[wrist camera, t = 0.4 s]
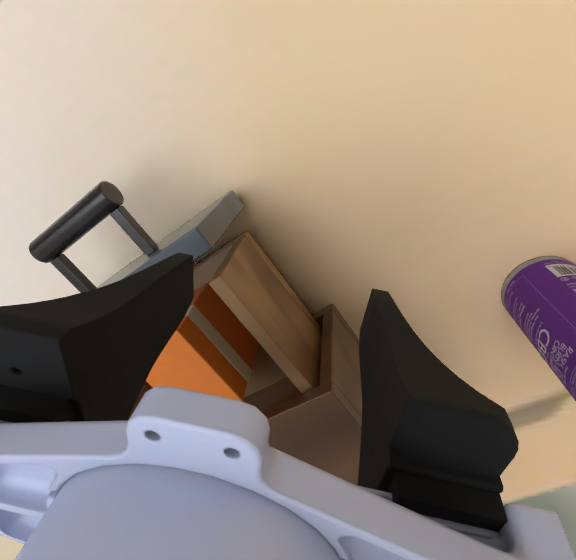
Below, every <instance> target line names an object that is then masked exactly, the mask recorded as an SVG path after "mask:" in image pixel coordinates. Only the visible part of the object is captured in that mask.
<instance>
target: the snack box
mask: <svg viewBox="0 0 576 560" xmlns="http://www.w3.org/2000/svg"><path fill="white" fill-rule="evenodd" d="M258 346H259V343H258V341H257V340H256V339H255V338H254V337H253V335H252V334H251V333H250V332H249V331H248V330H247V328H246V327H245V326H244V325H243V324H242V323H241V321H240V320H239V319H238V318H237V317H236V315H235V314H234V313H233V312H232V311H231V310H230V308H229V307H228V306H227V305H226V304H225V302H224V301H223V300H222V299H221V298H220V297H219V295H218V294H217V293H216V292H215V291H214V290H213V288H212V287H211V286H210V285H209V283H206V284H204V285H203V286H201V287H200V288H198V289H197V290H195V291H194V297H193V300H192V302H191V304H190V307H189V309H188V311H187V313H186V315H185V317H184V318H183V320H182V322H181V323H180V325H179V326H178V328H177V329H176V331H175V332H174V334H173V336H172V337H171V339H170V340H169V342H168V343H167V345H166V346H165V348H164V349H163V351H162V352H161V354H160V355H159V357H158V359H157V360H156V362H155V364H154V365H153V367H152V369H151V371H150V373H149V375H148V377H147V379H146V381H147V382H148V383H149V384H150V385H151V386H152V387H153V388H154V387H156V386H171V387H177V388H182V389H187V390H192V391H196V392H201V393H206V394H211V395H215V396H220V397H225V398H229V399H234V400H239V401H243V398H244V394H245V391H246V387H247V384H248V382H249V379H250V376H251V372H252V367H253V363H254V360H255V357H256V353H257V350H258Z"/></svg>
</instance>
